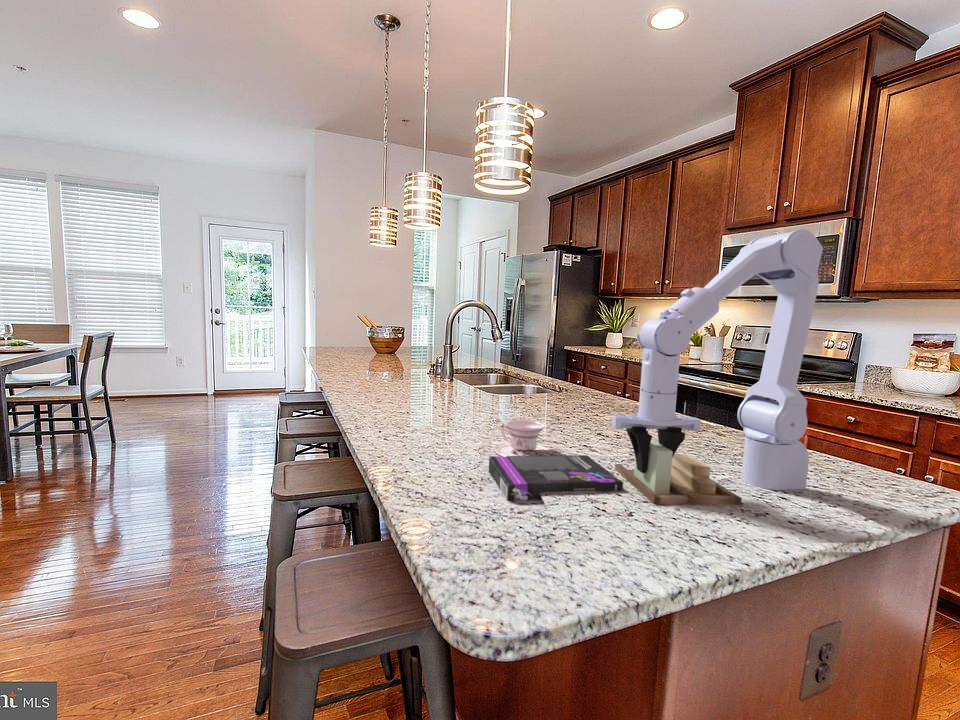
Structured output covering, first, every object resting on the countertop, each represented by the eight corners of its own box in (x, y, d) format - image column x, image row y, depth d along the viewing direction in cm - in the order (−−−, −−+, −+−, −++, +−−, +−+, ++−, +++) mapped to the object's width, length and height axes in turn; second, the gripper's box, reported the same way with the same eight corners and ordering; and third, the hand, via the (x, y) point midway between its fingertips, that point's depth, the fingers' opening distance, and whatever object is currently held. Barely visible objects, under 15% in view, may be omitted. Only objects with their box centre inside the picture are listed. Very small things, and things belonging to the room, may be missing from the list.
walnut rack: (686, 475, 89) (687, 465, 89) (740, 510, 73) (741, 498, 73) (614, 474, 88) (615, 464, 88) (653, 510, 72) (654, 497, 72)
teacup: (553, 448, 104) (555, 420, 104) (549, 464, 93) (550, 433, 92) (499, 443, 107) (501, 416, 106) (488, 458, 95) (490, 427, 95)
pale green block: (647, 477, 84) (650, 438, 84) (669, 494, 76) (672, 451, 76) (633, 476, 84) (636, 438, 83) (654, 493, 76) (657, 451, 75)
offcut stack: (684, 474, 86) (686, 453, 86) (716, 495, 77) (718, 471, 76) (668, 474, 86) (670, 453, 86) (698, 495, 76) (700, 471, 76)
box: (506, 506, 73) (623, 500, 77) (507, 485, 73) (624, 479, 77) (488, 474, 87) (588, 470, 91) (488, 456, 87) (589, 452, 90)
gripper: (687, 388, 83) (681, 464, 85) (607, 386, 82) (601, 463, 83) (710, 395, 76) (702, 477, 78) (622, 393, 75) (616, 476, 76)
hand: (651, 471), depth 80 cm, fingers open, 3 cm apart
